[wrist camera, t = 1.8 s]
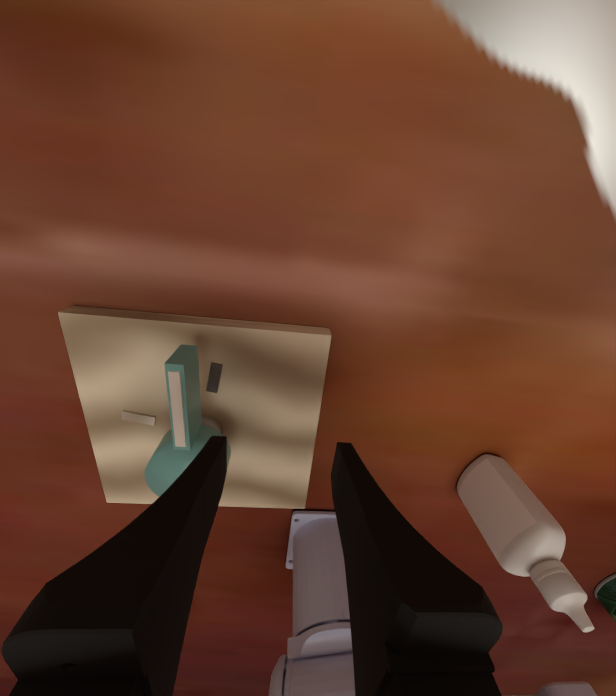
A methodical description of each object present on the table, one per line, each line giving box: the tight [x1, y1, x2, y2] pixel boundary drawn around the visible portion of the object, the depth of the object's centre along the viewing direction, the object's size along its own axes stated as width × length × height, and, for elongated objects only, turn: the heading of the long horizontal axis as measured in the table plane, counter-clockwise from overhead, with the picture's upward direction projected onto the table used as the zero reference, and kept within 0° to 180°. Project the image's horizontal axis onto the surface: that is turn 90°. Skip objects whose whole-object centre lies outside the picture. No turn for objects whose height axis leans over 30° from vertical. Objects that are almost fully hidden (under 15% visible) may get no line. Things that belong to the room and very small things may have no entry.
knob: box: [144, 344, 231, 497], centre depth 19 cm, size 11×5×3 cm, turn 174°
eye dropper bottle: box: [457, 454, 594, 632], centre depth 24 cm, size 4×6×12 cm
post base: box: [58, 306, 332, 509], centre depth 23 cm, size 18×18×4 cm
